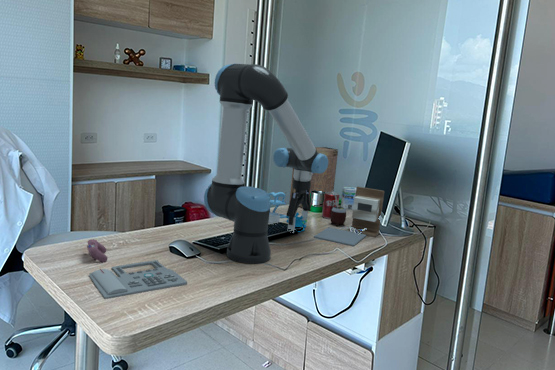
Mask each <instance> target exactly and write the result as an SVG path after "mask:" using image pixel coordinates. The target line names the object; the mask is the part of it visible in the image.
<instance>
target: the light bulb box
mask: <svg viewBox="0 0 555 370" xmlns="http://www.w3.org/2000/svg"><path fill="white" fill-rule="evenodd" d="M355 196H356V187H349V186H342V193H341V200H340V207H343V208H345V209H346V210H353V205H354V197H355Z"/></svg>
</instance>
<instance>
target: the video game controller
mask: <svg viewBox="0 0 555 370" xmlns="http://www.w3.org/2000/svg"><path fill="white" fill-rule="evenodd" d="M86 248H87V251H88V254H89V255H90V256H91V258H92V259H93V260H94V261H95V260H97V261H99V262H101V263H106V262H107V261H108V256H107V255H106V254H105V253H106V252H107V248H106V246H105V245H103V244H101V243H100V242H98V241H97V239H95V238H93V239H92V238H91V239H89V240H88V241H87V245H86Z"/></svg>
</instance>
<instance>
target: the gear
mask: <svg viewBox="0 0 555 370" xmlns="http://www.w3.org/2000/svg"><path fill="white" fill-rule="evenodd" d="M295 217H296V218H295V227H303V230H301V231H297V232H298V233H301V232H304V231H305V230H306V229H305V228H307V226H306V225H304V224H305V223H306V222H307V223H308V219H307V220H301V219H303V217H302V216H301V215H300V213H299V212H298V211H297V212H296V214H295ZM285 219H286V223H287V224H288V220H289V217H288V216H286V218H285Z"/></svg>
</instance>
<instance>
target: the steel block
mask: <svg viewBox="0 0 555 370" xmlns="http://www.w3.org/2000/svg"><path fill="white" fill-rule="evenodd" d="M280 214H281V213H279V214H278V213H277V212H275V213H273V212H272V211H270V213H269V222H268V225H269V224H270V225H274V224H273V223H277V224H279V223H280V220H281V218H280ZM278 222H279V223H278Z"/></svg>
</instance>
